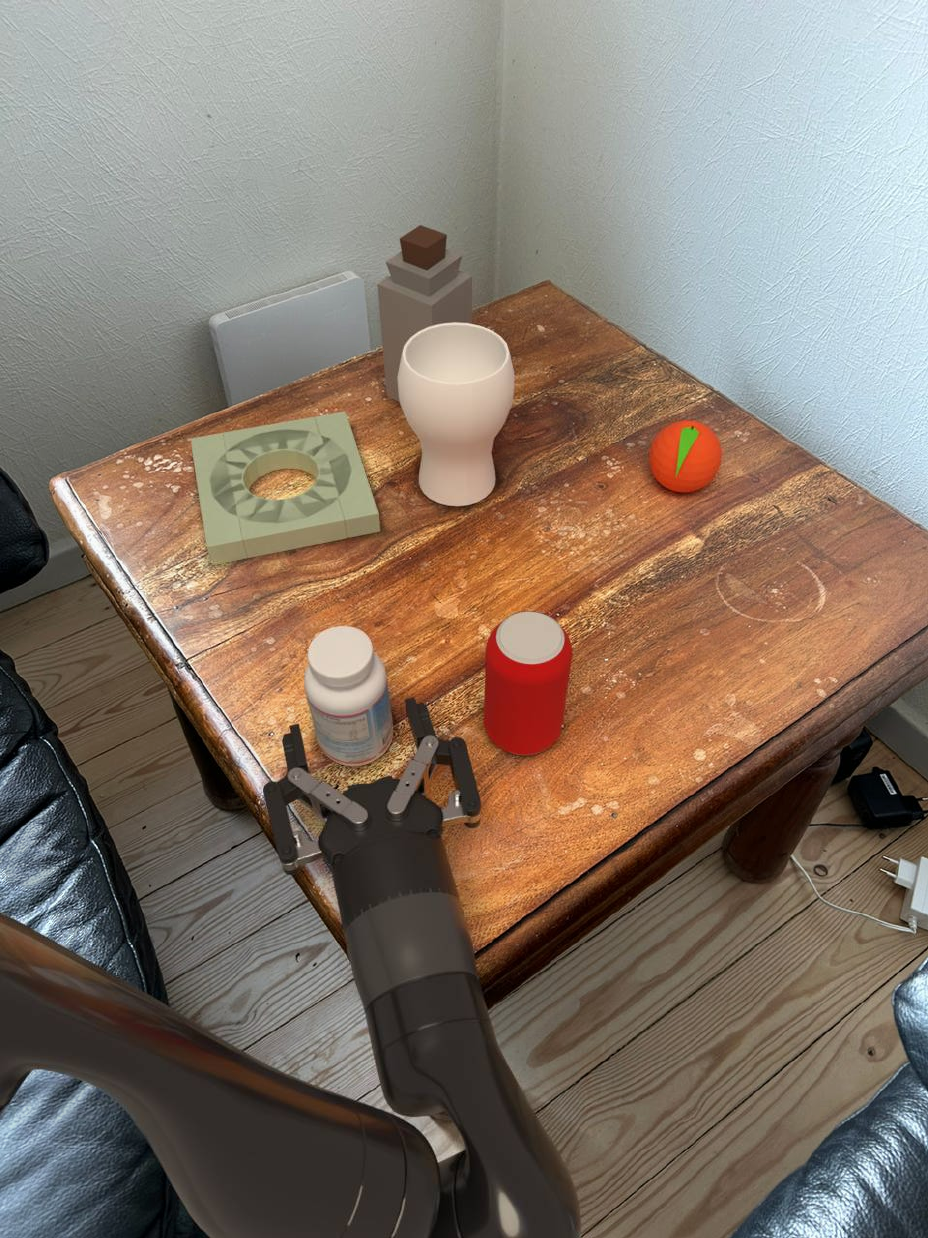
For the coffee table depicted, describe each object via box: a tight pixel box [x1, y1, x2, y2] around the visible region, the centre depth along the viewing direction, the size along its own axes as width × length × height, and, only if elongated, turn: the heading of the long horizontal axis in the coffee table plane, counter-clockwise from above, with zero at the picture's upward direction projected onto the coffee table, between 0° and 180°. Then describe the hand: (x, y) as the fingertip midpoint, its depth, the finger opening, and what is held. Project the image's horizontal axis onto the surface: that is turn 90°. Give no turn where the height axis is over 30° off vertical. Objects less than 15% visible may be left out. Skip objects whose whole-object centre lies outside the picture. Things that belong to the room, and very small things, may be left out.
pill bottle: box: [303, 625, 394, 767], centre depth 69 cm, size 6×6×11 cm
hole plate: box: [190, 410, 381, 566], centre depth 91 cm, size 16×16×2 cm
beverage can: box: [483, 610, 573, 756], centre depth 69 cm, size 6×6×12 cm
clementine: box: [648, 420, 723, 493], centre depth 89 cm, size 8×7×7 cm
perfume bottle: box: [376, 224, 473, 403], centre depth 95 cm, size 7×7×18 cm
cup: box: [397, 322, 516, 507], centre depth 87 cm, size 11×11×15 cm
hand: (353, 717), depth 67 cm, fingers open, 8 cm apart
